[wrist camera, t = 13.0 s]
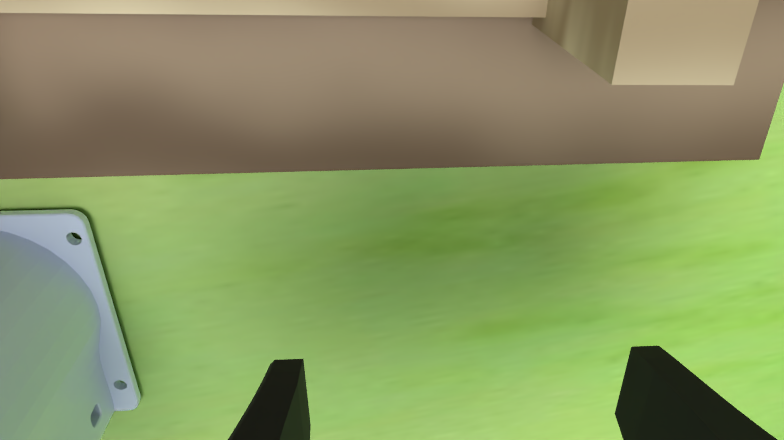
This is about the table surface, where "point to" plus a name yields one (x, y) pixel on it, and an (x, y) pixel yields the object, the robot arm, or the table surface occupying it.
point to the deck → (349, 96)
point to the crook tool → (550, 15)
